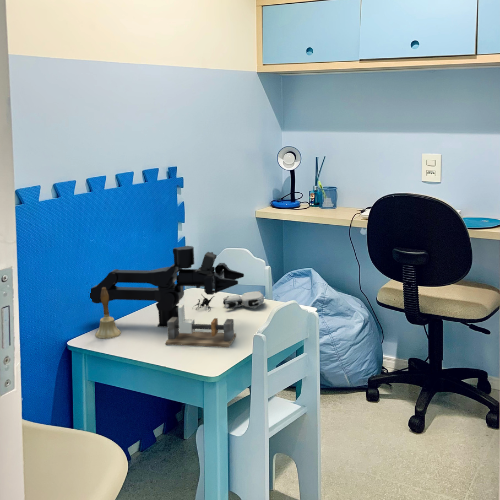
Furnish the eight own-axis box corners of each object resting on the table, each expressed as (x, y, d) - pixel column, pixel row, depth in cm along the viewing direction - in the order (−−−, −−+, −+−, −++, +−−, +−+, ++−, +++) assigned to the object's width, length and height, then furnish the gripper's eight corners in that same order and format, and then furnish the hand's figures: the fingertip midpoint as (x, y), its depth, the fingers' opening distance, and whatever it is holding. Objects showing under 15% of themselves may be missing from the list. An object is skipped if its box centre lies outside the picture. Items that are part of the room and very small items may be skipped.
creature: (206, 316, 231) (218, 306, 237) (204, 303, 229) (216, 293, 235) (189, 313, 235) (201, 303, 241) (186, 300, 233) (198, 290, 239)
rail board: (165, 344, 200) (164, 324, 199) (175, 333, 210) (174, 314, 208) (228, 347, 196) (227, 326, 195) (235, 336, 206) (235, 316, 204)
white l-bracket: (179, 333, 202) (177, 307, 200) (182, 329, 205) (181, 304, 204) (191, 333, 201) (190, 308, 199) (194, 329, 205) (193, 304, 203)
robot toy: (224, 315, 231) (266, 309, 232) (223, 302, 230) (264, 297, 231) (223, 305, 243) (262, 300, 244) (222, 293, 242) (261, 288, 243)
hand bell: (113, 339, 206) (109, 291, 203) (90, 338, 209) (86, 290, 205) (125, 331, 214) (122, 284, 210) (103, 329, 216) (99, 283, 213)
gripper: (185, 260, 203) (233, 261, 200) (201, 248, 221) (245, 248, 218) (187, 294, 206) (235, 295, 203) (202, 279, 224) (246, 280, 221)
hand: (240, 278), depth 211 cm, fingers open, 9 cm apart
